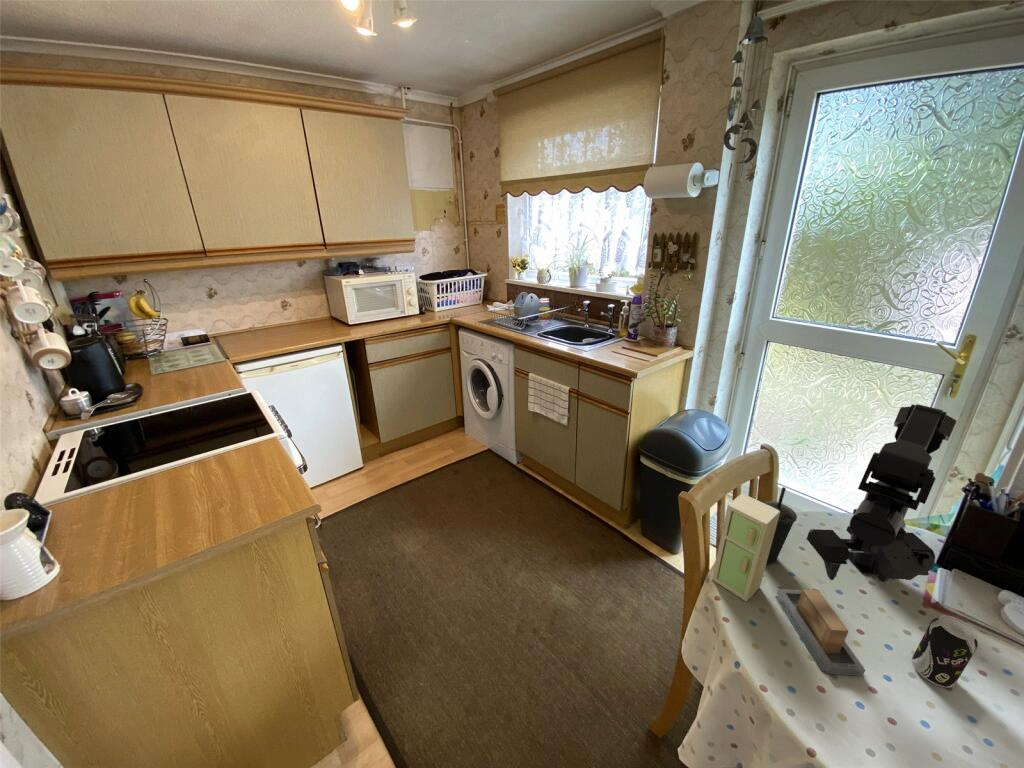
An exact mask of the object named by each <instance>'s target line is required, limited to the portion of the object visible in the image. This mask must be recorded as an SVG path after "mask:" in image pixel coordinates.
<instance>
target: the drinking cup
mask: <svg viewBox="0 0 1024 768" xmlns="http://www.w3.org/2000/svg"><path fill="white" fill-rule="evenodd" d="M786 490H787V489H786V487H784V486H782V488H781V490H780V494H779V498H778V501H773V500H763V501H761V502H762V503H764V504H767V505H769V506H771V507H773V508H775V509H777V510H779V511H780V515H779V519H778V523H777V526H776V530H775V534H774V537H773V541H772V545H771V548H770V552H769V556H768V559H767V563H766V564H769V565H770V564H771V565H772V564H775V563H776V562H777V560H778V558H779V556H780V553H781V551H782V549H783V547H784V545H785V542H786V541H787V538H788V536H789V534H790V531H791V529H792V527H793V524H794V523H795V522H796V521H797V520H798V519H797V518H798V515H797V513H796V512H795V510H793V509H792V508H791V507H790V506H788V505H786V504H785V503H783V500H784V496H785V494H786V493H785V492H786Z"/></svg>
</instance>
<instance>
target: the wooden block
mask: <svg viewBox="0 0 1024 768" xmlns="http://www.w3.org/2000/svg"><path fill="white" fill-rule="evenodd" d="M801 590H802V592H801V595H800V598H799V601H798V604H797V607H796V610H797V611H798V613H799V614H800V616H801V617H802V619H803V620H804V622H805V623H806V625H807V626H808V628H809V629H810V631H811V632H812V634H813V635H814V637H815V638H816V640H817V642H818V643H819V645H820V646H821V648H822V649H823V651H824V652H825V653H840V650H841V648H842V646H843V643H844V641H845V640H846V638H847V636H848V633H849V630H848V628H847V626H846V625H845V624H844V623H843V621H842V620H841V618H840V617H839V616H838V615H837V613H836V612H835V611H834V609H833V608H832V607H831V605H830V604H829V603H828V601H827V600H826V599H825V598H824V596H823V595H822V593H821V592H820V591H819V590H818V589H804V588H803V589H801ZM845 642H846V641H845Z"/></svg>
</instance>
